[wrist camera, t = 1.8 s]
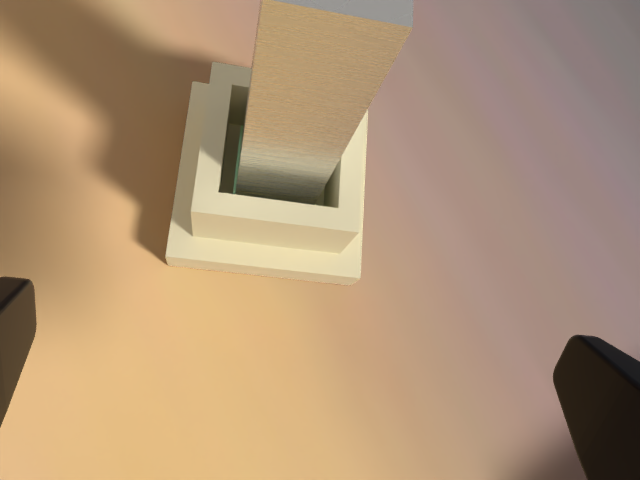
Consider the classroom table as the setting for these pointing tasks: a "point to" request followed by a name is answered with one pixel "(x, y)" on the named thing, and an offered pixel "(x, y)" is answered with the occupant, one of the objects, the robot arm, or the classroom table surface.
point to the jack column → (312, 89)
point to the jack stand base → (259, 200)
